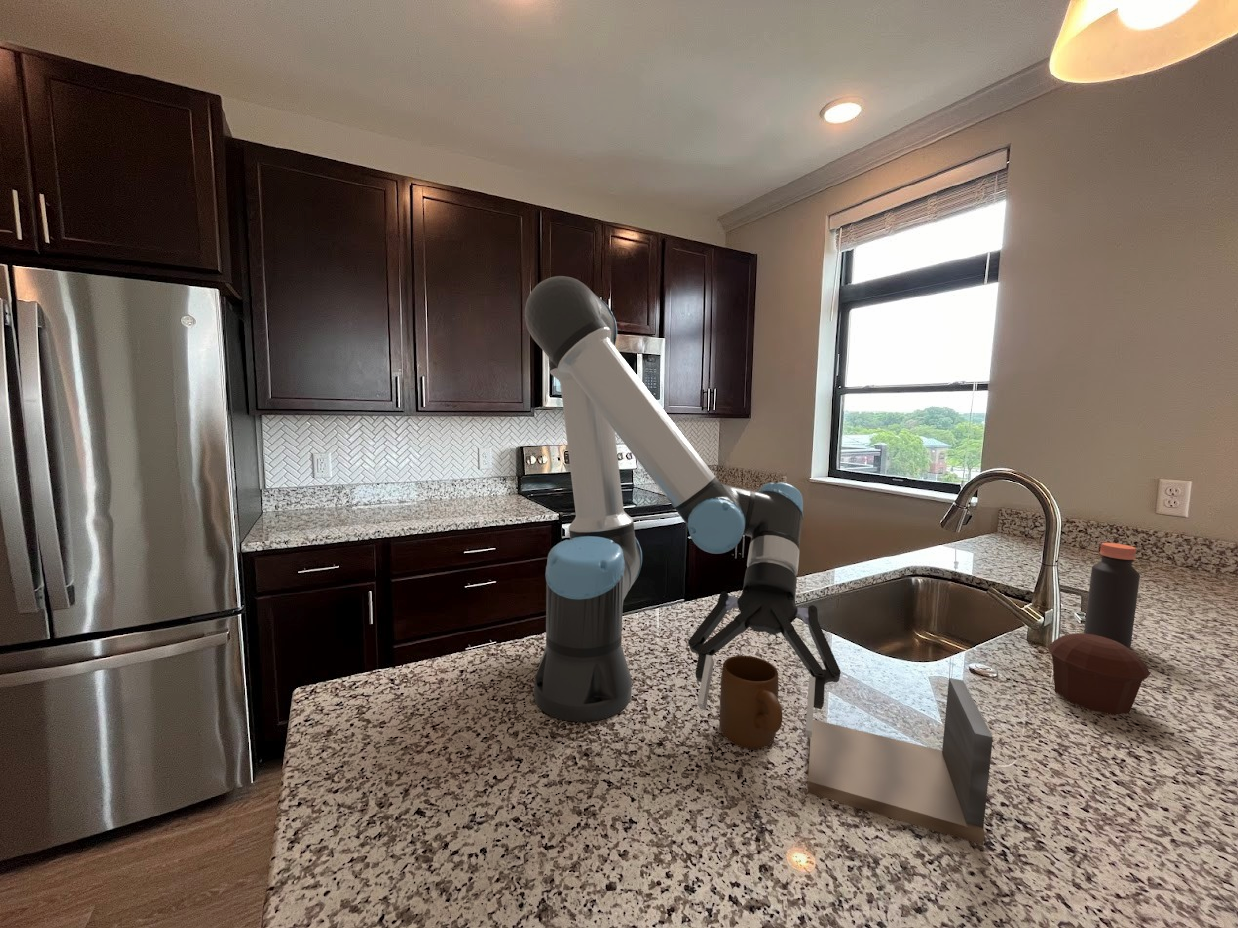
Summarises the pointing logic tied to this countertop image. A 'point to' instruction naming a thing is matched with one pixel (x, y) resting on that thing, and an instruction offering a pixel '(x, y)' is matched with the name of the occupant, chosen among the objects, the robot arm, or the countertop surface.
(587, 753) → the countertop surface
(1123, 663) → the muffin
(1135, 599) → the bottle
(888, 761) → the shelf
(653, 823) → the countertop surface
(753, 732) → the mug
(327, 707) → the countertop surface
